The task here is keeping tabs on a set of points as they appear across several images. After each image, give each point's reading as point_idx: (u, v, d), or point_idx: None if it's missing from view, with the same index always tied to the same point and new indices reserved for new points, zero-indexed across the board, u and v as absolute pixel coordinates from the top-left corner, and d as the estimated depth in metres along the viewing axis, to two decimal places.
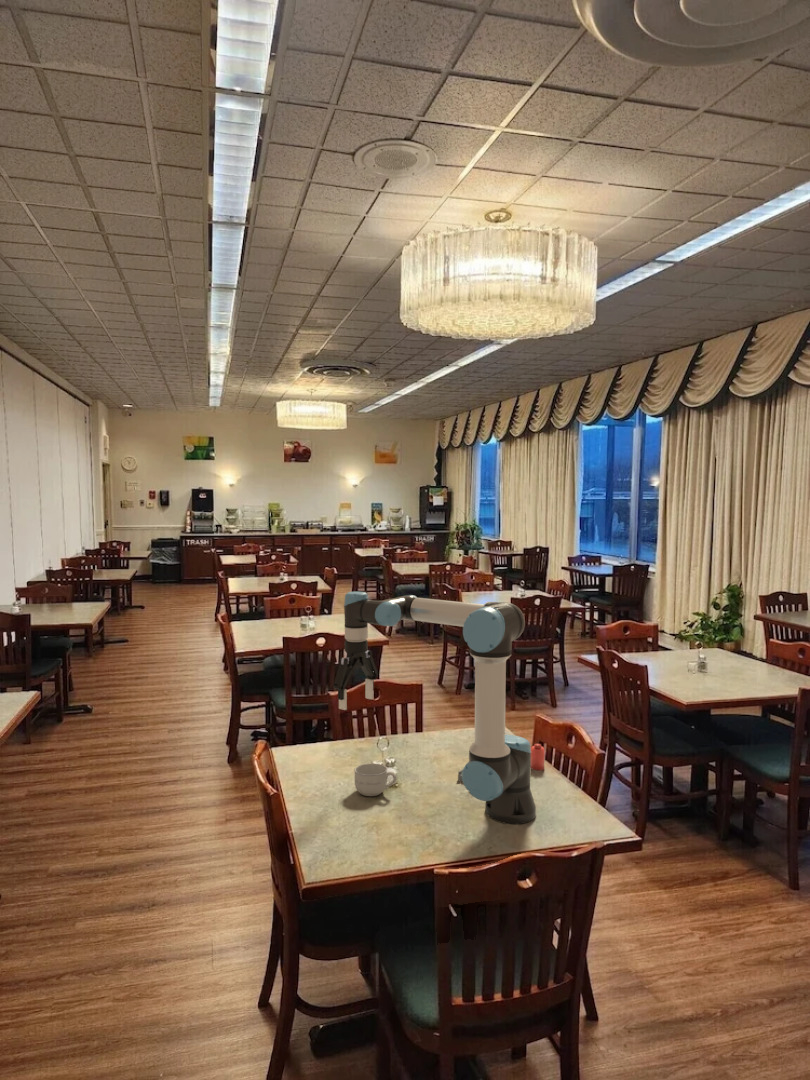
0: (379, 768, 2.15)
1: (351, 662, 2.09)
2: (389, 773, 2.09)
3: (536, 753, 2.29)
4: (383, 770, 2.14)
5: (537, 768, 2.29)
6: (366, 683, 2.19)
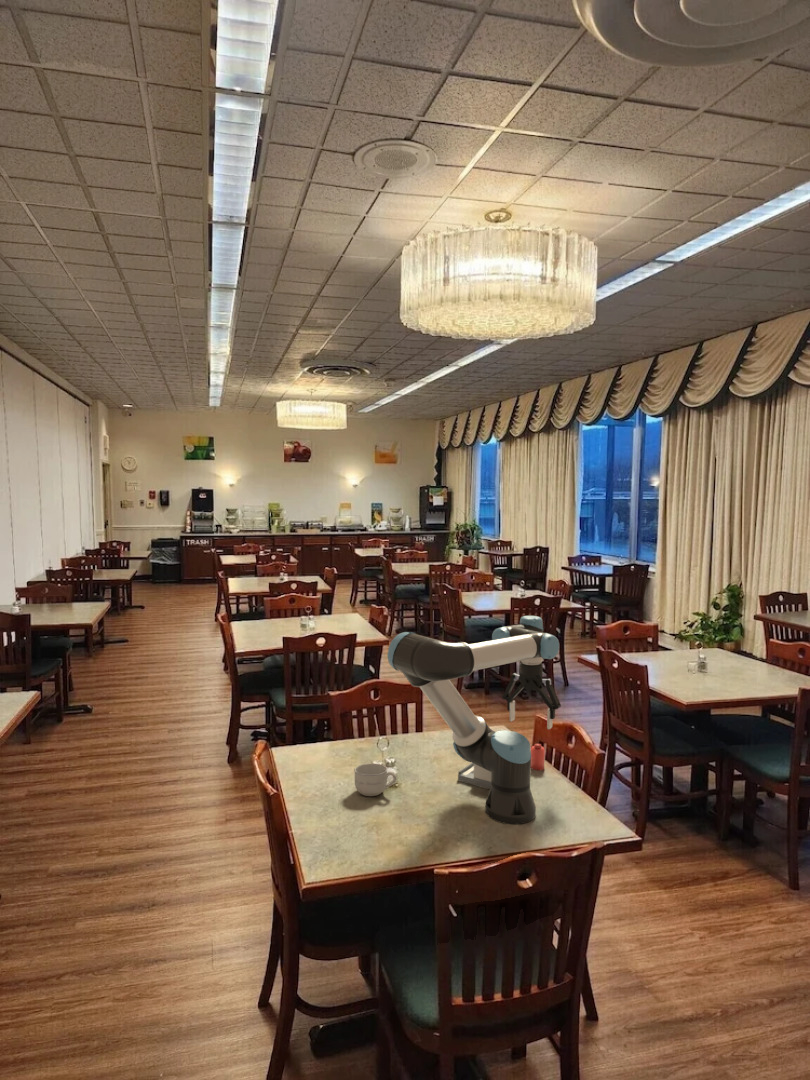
0: (379, 768, 2.15)
1: (520, 680, 2.21)
2: (389, 773, 2.09)
3: (536, 753, 2.29)
4: (383, 770, 2.14)
5: (537, 768, 2.29)
6: None
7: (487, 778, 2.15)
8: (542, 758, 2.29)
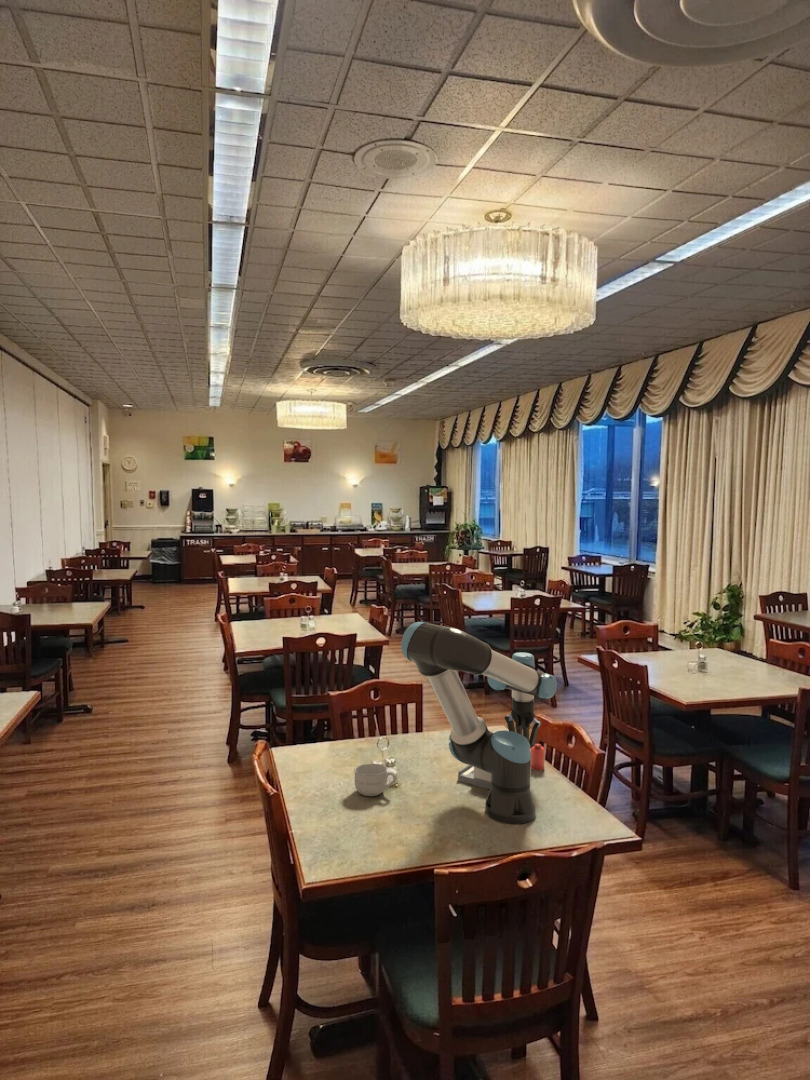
0: (379, 768, 2.15)
1: (514, 717, 2.24)
2: (389, 773, 2.09)
3: (536, 753, 2.29)
4: (383, 770, 2.14)
5: (537, 768, 2.29)
6: None
7: (487, 778, 2.15)
8: (542, 758, 2.29)
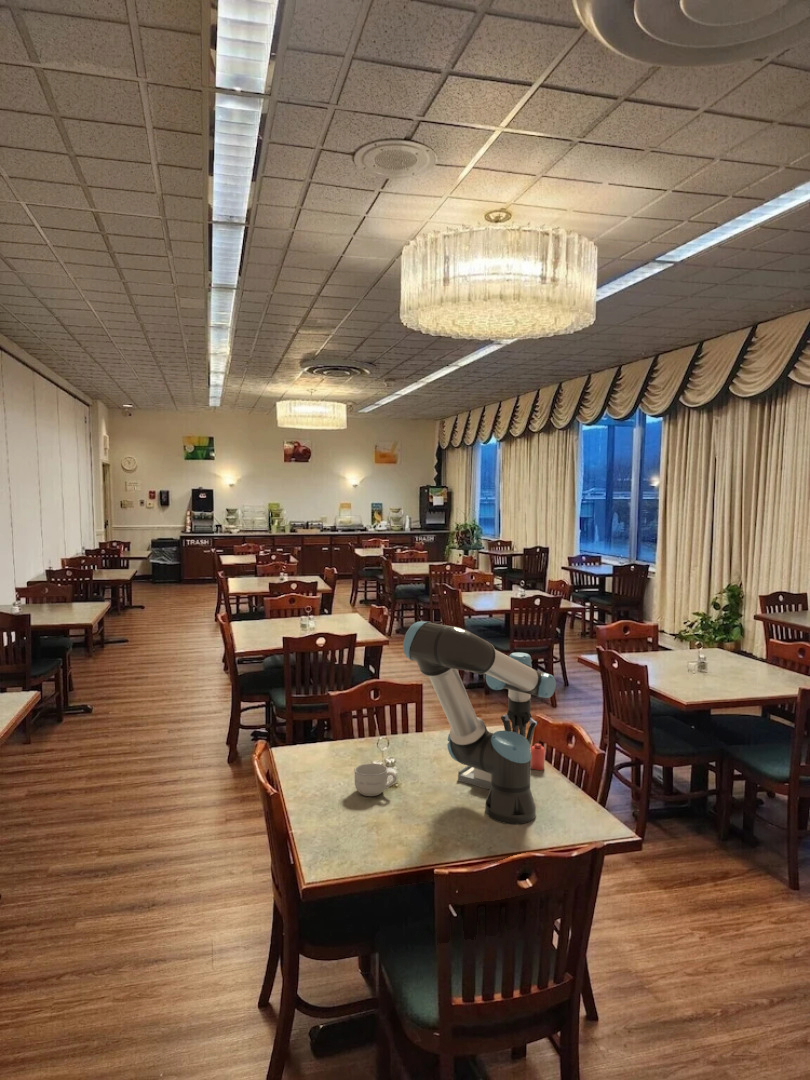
0: (379, 768, 2.15)
1: (510, 717, 2.24)
2: (389, 773, 2.09)
3: (537, 753, 2.29)
4: (383, 770, 2.14)
5: (537, 768, 2.29)
6: None
7: (487, 778, 2.15)
8: (542, 758, 2.29)
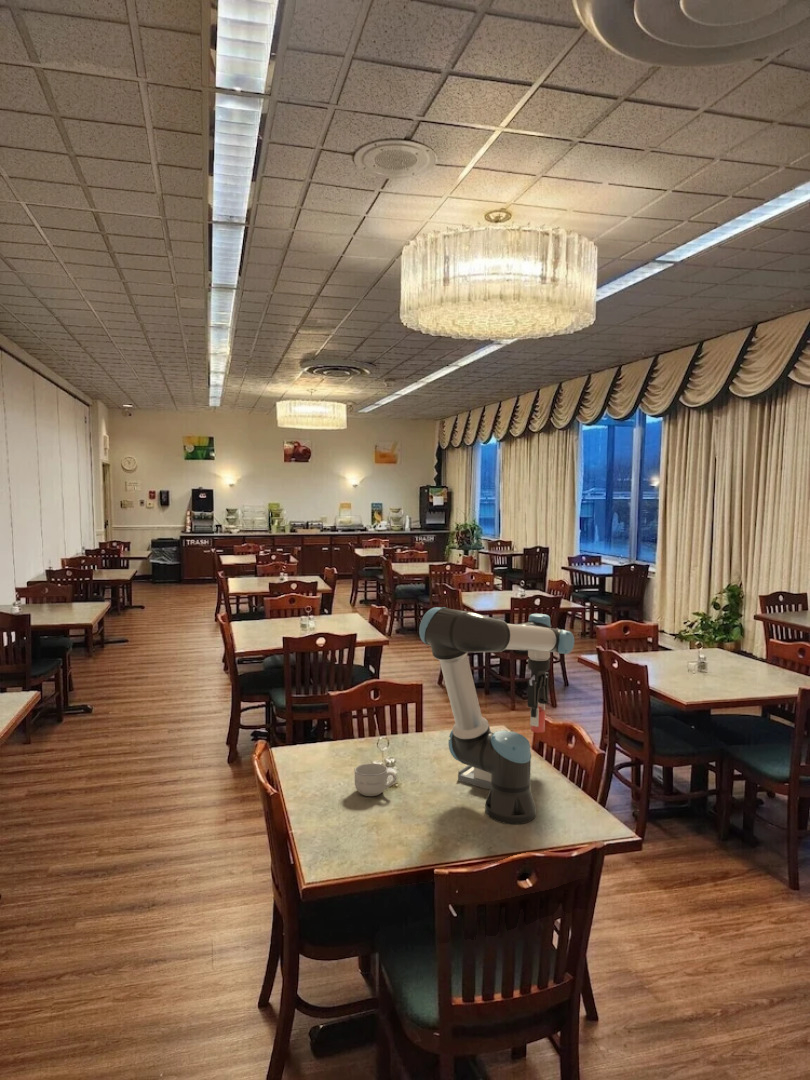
0: (379, 768, 2.15)
1: (537, 679, 2.26)
2: (389, 773, 2.09)
3: None
4: (383, 770, 2.14)
5: (538, 730, 2.28)
6: None
7: (487, 778, 2.15)
8: (543, 720, 2.28)
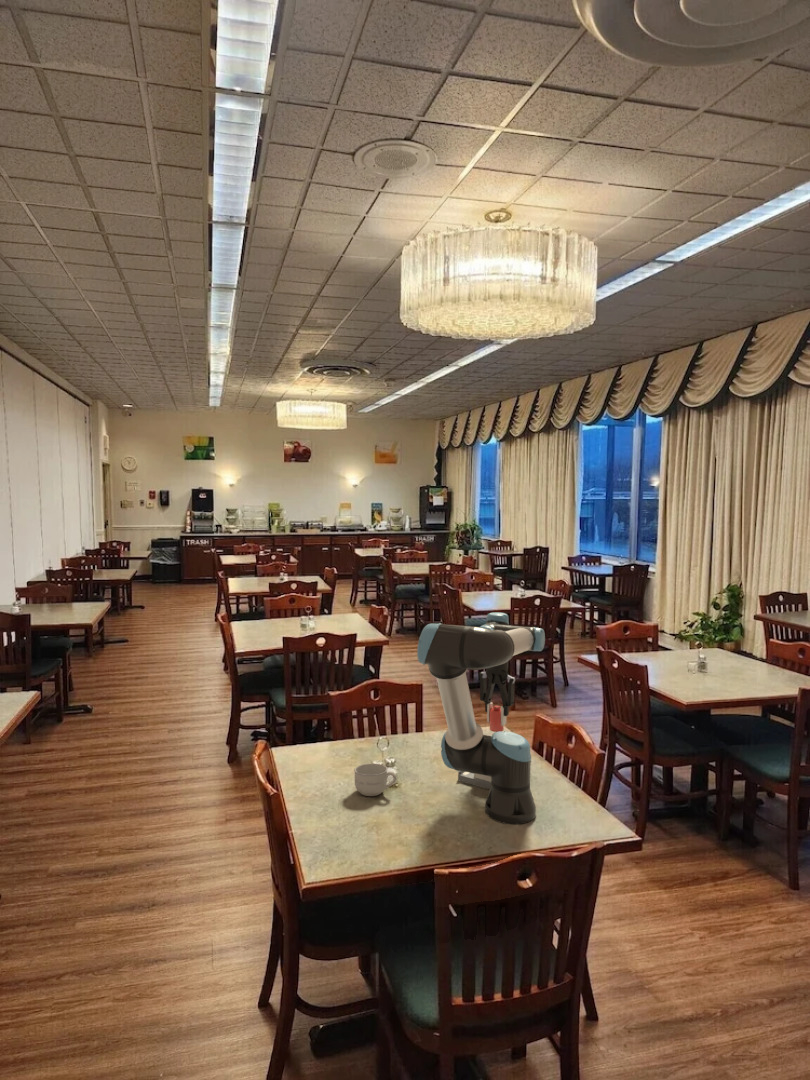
0: (379, 768, 2.15)
1: (488, 675, 2.29)
2: (389, 773, 2.09)
3: None
4: (383, 770, 2.14)
5: None
6: None
7: (487, 778, 2.15)
8: (491, 719, 2.27)
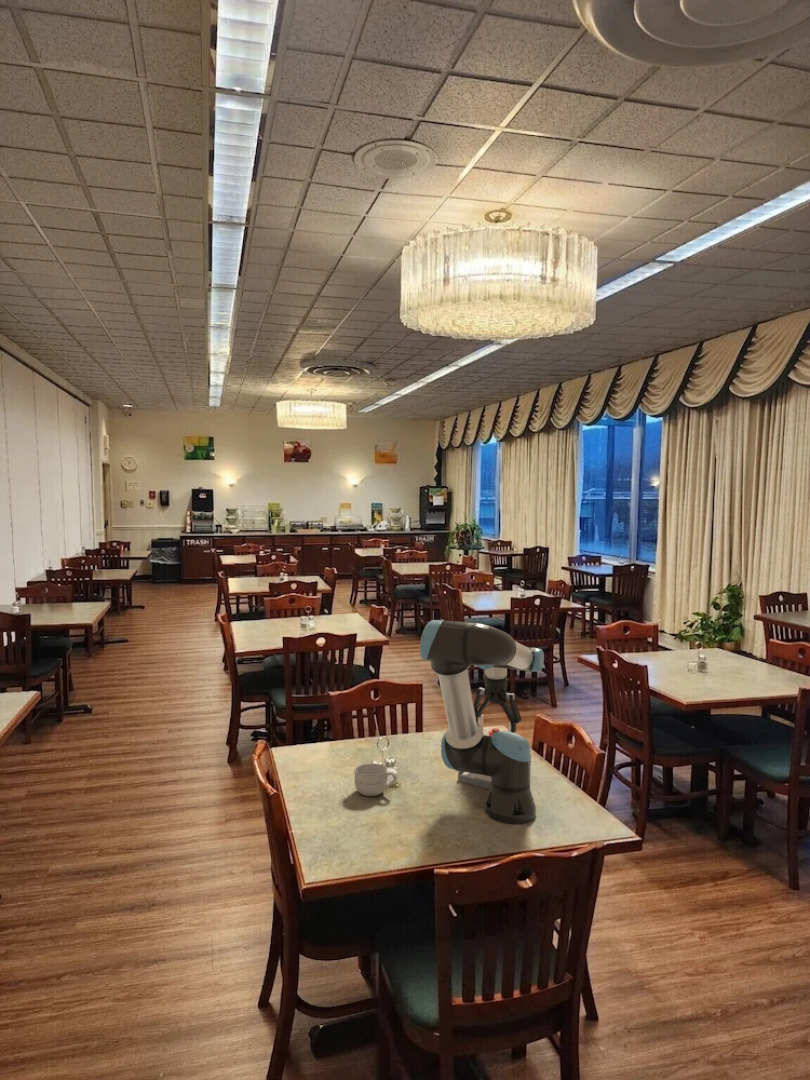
0: (379, 768, 2.15)
1: (486, 694, 2.29)
2: (389, 773, 2.09)
3: None
4: (383, 770, 2.14)
5: None
6: None
7: (487, 778, 2.15)
8: None
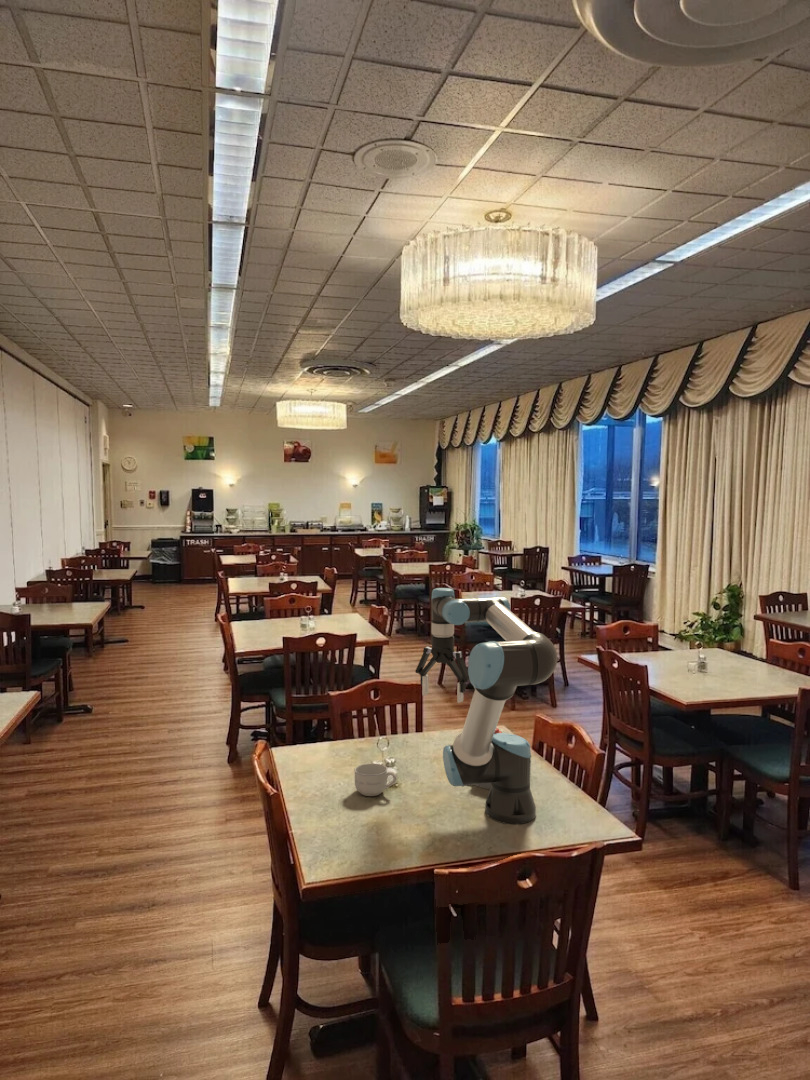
0: (379, 768, 2.15)
1: (432, 654, 2.18)
2: (389, 773, 2.09)
3: None
4: (383, 770, 2.14)
5: None
6: None
7: None
8: None
